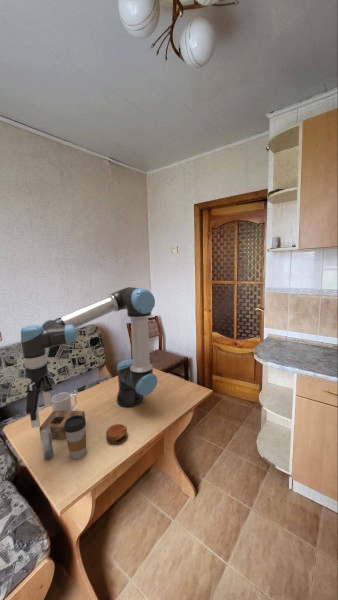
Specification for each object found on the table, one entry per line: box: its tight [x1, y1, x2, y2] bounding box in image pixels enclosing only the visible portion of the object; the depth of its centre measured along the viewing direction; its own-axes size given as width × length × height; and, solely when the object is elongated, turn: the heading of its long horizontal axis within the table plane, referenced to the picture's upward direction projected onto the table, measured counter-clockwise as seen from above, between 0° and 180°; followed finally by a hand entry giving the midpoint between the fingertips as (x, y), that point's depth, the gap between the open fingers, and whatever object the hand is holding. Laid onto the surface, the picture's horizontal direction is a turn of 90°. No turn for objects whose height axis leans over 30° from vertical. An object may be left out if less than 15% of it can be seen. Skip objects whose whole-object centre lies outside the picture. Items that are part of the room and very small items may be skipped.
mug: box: [51, 391, 78, 412], centre depth 129 cm, size 12×9×11 cm
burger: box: [105, 423, 128, 444], centre depth 111 cm, size 10×9×5 cm
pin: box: [39, 427, 55, 461], centre depth 101 cm, size 4×4×12 cm
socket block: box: [38, 410, 86, 440], centre depth 117 cm, size 16×12×6 cm
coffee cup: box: [64, 415, 87, 460], centre depth 102 cm, size 8×8×15 cm
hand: (42, 415), depth 99 cm, fingers open, 13 cm apart
